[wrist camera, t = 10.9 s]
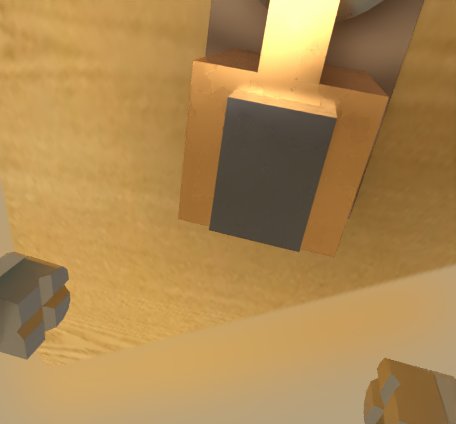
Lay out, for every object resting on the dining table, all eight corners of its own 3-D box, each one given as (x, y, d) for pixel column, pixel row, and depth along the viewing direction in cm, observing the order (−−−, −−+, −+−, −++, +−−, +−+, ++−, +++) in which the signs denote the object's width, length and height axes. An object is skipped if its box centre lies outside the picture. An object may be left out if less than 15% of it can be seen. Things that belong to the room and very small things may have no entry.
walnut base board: (231, -130, 25) (226, -139, 23) (454, -104, 23) (462, -111, 22) (196, 177, 35) (191, 183, 34) (347, 211, 33) (348, 219, 32)
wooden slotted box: (264, -180, 22) (158, -554, 8) (440, -162, 21) (703, -569, 7) (216, 162, 32) (132, 274, 18) (333, 188, 31) (342, 331, 17)
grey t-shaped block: (262, 69, 27) (227, 96, 17) (331, 82, 27) (337, 118, 17) (245, 162, 31) (208, 230, 21) (306, 175, 30) (299, 251, 20)
